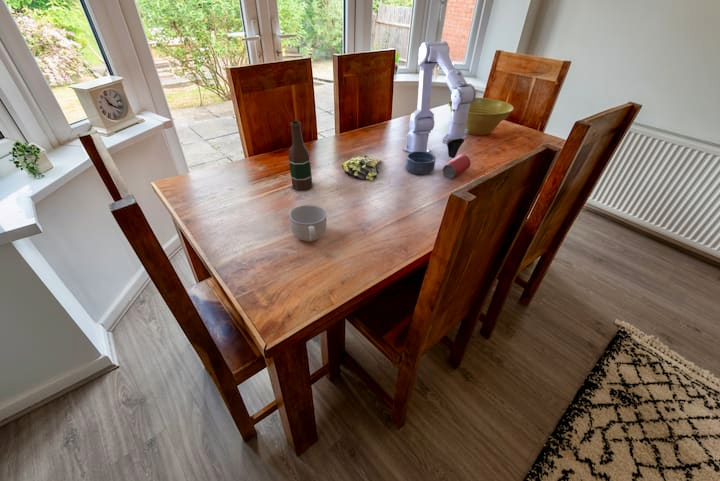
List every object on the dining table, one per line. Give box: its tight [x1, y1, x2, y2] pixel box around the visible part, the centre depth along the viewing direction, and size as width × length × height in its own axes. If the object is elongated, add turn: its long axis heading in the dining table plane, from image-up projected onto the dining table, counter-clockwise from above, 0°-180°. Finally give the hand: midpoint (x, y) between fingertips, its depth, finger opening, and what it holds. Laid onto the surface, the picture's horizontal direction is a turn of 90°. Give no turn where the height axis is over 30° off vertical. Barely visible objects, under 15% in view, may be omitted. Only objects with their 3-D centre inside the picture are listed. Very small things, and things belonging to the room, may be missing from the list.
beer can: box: [442, 154, 472, 179], centre depth 129 cm, size 7×7×12 cm
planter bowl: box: [447, 97, 515, 136], centre depth 168 cm, size 32×32×13 cm
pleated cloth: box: [341, 153, 382, 182], centre depth 134 cm, size 20×16×6 cm
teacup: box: [288, 204, 328, 242], centre depth 94 cm, size 14×11×8 cm
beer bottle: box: [288, 120, 313, 192], centre depth 115 cm, size 8×8×24 cm
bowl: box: [405, 151, 437, 175], centre depth 133 cm, size 12×12×6 cm
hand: (451, 157), depth 126 cm, fingers closed
